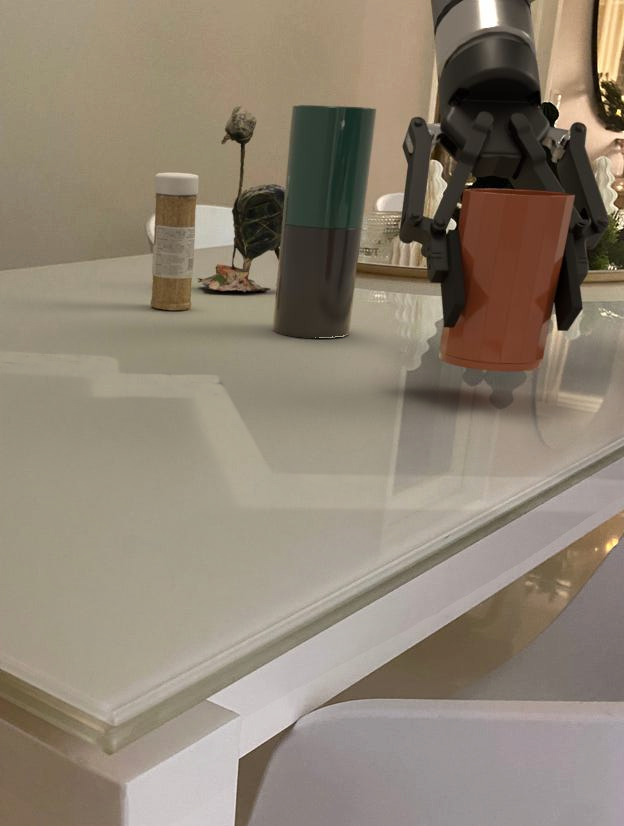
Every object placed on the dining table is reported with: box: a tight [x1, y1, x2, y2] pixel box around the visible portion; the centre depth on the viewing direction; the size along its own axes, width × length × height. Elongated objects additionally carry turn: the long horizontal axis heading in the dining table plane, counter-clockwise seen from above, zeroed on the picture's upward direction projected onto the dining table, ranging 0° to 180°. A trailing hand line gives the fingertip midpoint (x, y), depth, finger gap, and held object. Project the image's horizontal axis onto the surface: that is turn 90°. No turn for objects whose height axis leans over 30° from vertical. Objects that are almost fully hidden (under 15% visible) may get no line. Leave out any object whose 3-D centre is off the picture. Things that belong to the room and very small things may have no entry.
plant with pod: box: [196, 105, 285, 293], centre depth 123 cm, size 8×11×20 cm
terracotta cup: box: [438, 188, 575, 373], centre depth 78 cm, size 8×8×12 cm
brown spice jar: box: [150, 172, 200, 311], centre depth 111 cm, size 5×5×13 cm
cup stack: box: [272, 104, 377, 339], centre depth 100 cm, size 8×8×20 cm
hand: (512, 317), depth 76 cm, fingers closed on terracotta cup, 8 cm apart
